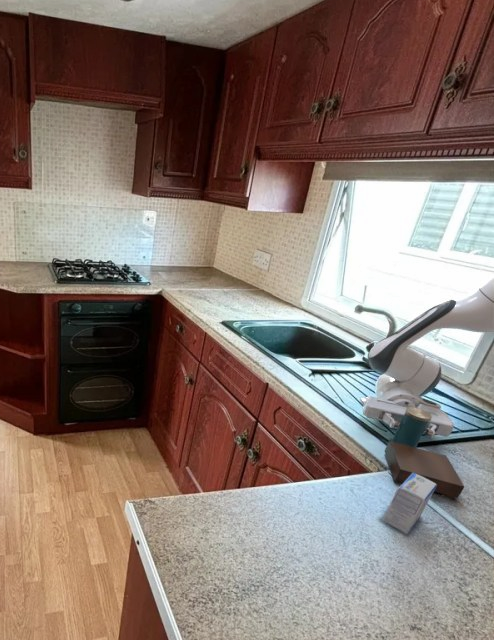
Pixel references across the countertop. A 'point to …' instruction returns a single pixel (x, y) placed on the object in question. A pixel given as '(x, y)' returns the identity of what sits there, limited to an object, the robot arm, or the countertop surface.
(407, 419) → the teal canister
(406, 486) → the medicine box
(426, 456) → the walnut platform
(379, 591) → the countertop surface
